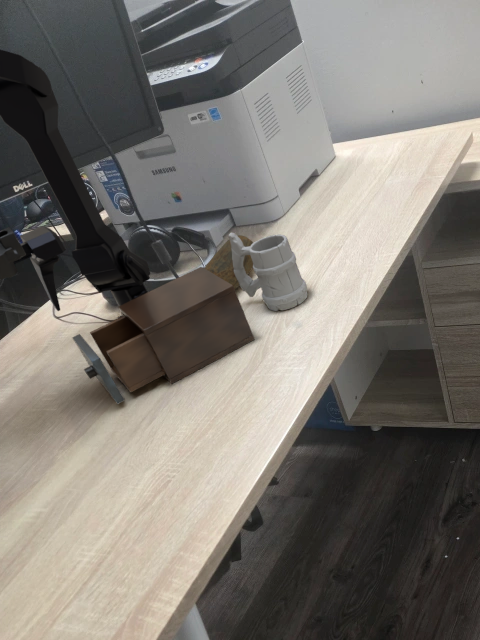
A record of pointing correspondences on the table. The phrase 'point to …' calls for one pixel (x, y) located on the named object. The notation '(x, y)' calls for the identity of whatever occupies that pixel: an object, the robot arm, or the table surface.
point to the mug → (270, 271)
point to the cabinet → (190, 322)
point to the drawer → (121, 356)
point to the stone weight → (229, 262)
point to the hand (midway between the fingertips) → (27, 324)
